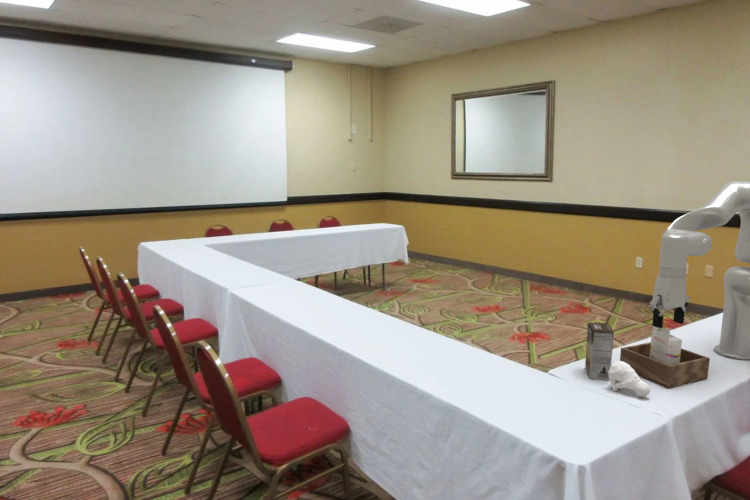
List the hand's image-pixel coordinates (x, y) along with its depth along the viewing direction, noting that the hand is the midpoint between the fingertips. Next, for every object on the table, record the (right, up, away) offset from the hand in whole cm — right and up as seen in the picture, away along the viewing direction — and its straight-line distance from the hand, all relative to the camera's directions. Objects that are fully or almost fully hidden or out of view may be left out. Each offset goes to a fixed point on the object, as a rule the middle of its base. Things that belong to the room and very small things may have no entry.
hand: (667, 324), depth 171 cm
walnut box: (-1, -16, +2) cm, 16 cm away
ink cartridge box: (0, -15, +3) cm, 16 cm away
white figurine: (-18, -19, -12) cm, 29 cm away
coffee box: (-22, -16, +2) cm, 28 cm away
